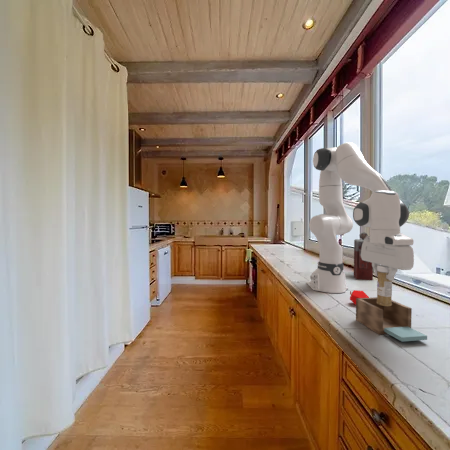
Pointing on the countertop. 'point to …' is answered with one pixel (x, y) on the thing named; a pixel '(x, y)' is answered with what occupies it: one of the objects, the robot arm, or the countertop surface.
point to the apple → (357, 295)
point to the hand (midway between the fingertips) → (383, 278)
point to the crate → (382, 315)
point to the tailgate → (405, 334)
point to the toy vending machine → (361, 261)
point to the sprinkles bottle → (383, 286)
